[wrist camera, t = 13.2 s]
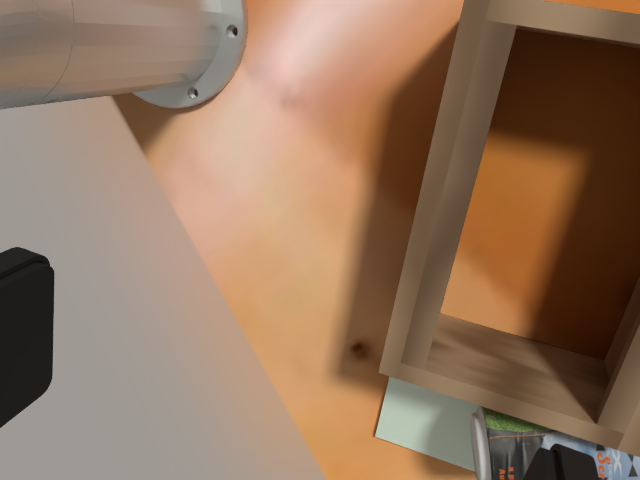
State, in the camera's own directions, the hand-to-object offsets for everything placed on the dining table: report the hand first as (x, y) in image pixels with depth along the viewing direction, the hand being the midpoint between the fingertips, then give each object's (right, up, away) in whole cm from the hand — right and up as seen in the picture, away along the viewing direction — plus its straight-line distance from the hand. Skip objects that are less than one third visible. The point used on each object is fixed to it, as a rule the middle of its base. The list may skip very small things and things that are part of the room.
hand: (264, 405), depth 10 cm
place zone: (+11, -10, +34) cm, 37 cm away
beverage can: (+11, -11, +29) cm, 33 cm away
